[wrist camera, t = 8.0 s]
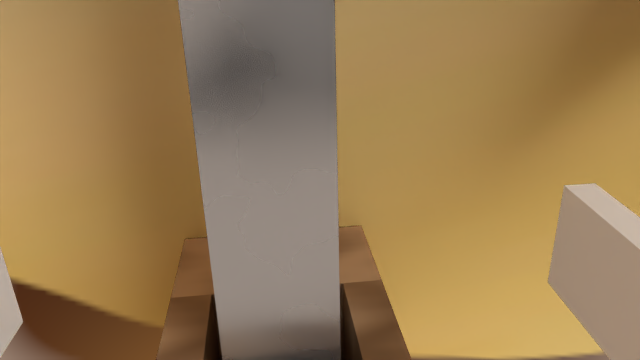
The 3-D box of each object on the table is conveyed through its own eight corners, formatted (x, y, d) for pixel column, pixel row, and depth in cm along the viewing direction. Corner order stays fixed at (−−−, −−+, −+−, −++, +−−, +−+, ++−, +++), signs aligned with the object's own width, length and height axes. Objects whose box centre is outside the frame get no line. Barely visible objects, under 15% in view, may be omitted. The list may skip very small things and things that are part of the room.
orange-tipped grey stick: (306, -500, 12) (326, -670, 9) (330, 377, 22) (343, 455, 19) (136, -506, 12) (89, -685, 9) (237, 386, 22) (234, 467, 18)
